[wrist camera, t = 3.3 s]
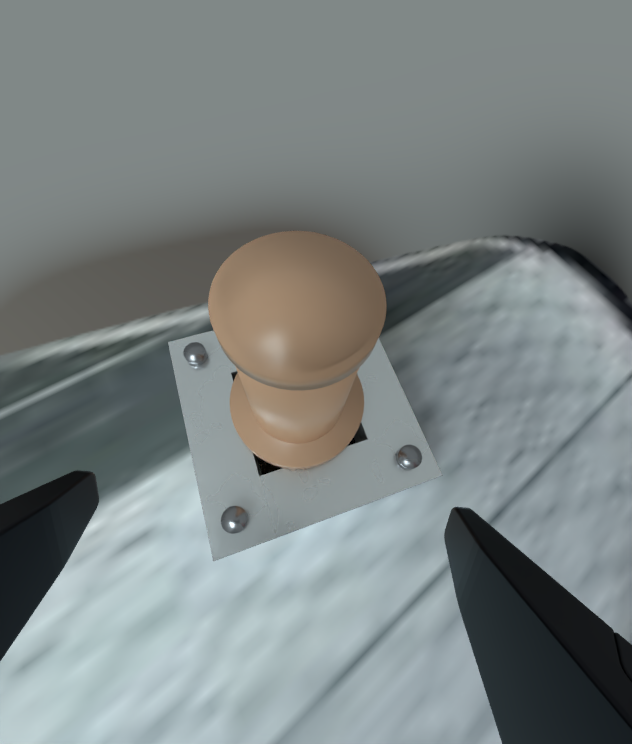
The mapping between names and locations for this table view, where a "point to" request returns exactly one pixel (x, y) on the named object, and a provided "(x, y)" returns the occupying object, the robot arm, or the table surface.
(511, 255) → the table surface
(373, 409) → the square mounting plate
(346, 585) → the table surface
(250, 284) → the knob
